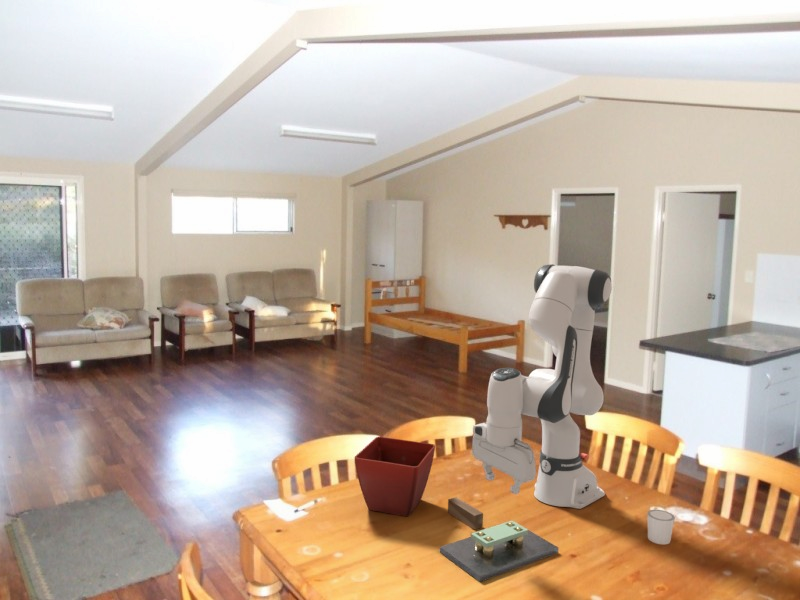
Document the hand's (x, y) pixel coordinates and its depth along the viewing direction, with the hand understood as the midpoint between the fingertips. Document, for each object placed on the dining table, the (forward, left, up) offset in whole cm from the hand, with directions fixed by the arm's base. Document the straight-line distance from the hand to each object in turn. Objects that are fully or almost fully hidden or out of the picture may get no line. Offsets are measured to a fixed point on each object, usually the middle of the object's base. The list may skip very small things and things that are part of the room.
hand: (502, 486), depth 169 cm
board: (0, 0, -13) cm, 13 cm away
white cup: (-42, +17, -18) cm, 49 cm away
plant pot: (+8, -37, -18) cm, 42 cm away
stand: (-4, -19, -18) cm, 26 cm away
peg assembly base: (0, 0, -18) cm, 18 cm away
